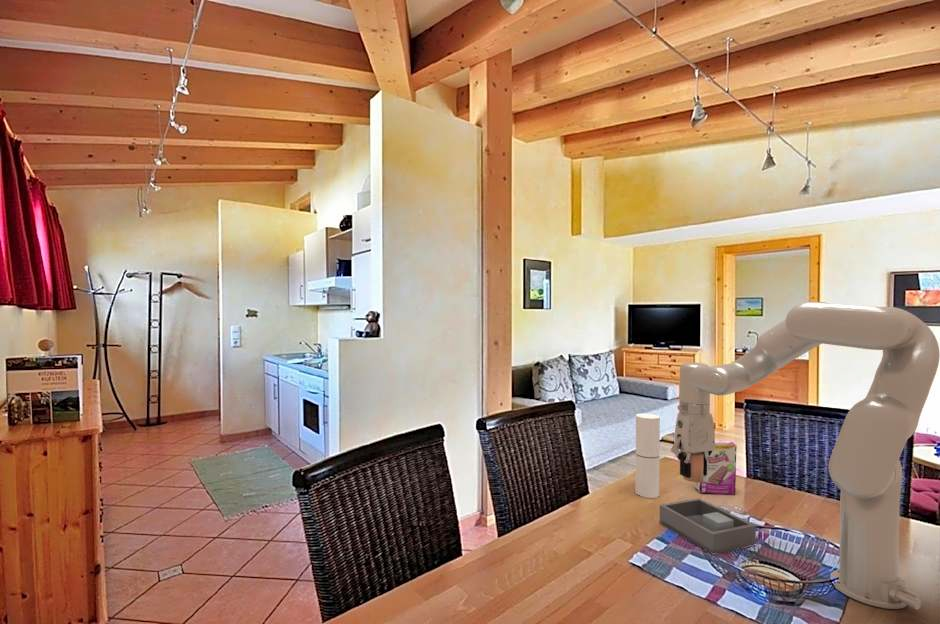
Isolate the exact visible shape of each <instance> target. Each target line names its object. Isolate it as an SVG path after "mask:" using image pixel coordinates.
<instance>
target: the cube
mask: <svg viewBox="0 0 940 624" xmlns="http://www.w3.org/2000/svg"><path fill="white" fill-rule="evenodd" d="M702 526H703V527H705V528H707V529H709V530H710V531H712V532H714V531H719V530H724V529H729V528H733V526H734V520H732V519H730V518H728V517H726V516H724V515H722V514H720V513H718V512H714V513H709V514H703V515H702Z"/></svg>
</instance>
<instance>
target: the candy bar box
mask: <svg viewBox="0 0 940 624" xmlns="http://www.w3.org/2000/svg"><path fill="white" fill-rule="evenodd" d="M715 445H716V448H715V449H714V450H713V451H712V453H711V455H710V456H709V460H708V461H707V475H706V476H704V475H703V482H694V489H695V490H696V491H697V492H699V494H709V495H711V494H712V495H714V494H715V495H727V496H728V495H732V496H735V495H736V482H737V481H736V478H737V477H736V476H737V475H736V474H737V449H738V448H737V444H736V443H734V442H733V441H731V440H722V439H721V440H718V439H715Z"/></svg>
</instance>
